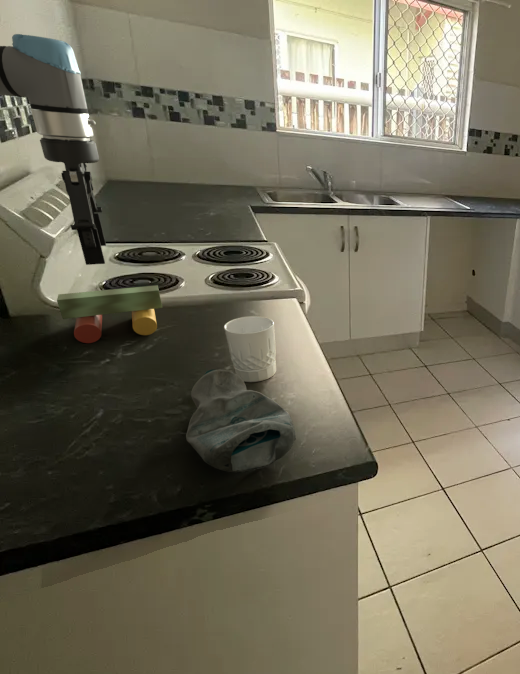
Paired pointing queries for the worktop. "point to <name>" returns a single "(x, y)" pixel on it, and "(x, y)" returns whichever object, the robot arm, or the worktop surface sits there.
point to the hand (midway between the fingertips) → (96, 254)
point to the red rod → (88, 328)
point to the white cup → (252, 347)
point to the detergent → (237, 424)
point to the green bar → (108, 301)
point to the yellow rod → (144, 321)
